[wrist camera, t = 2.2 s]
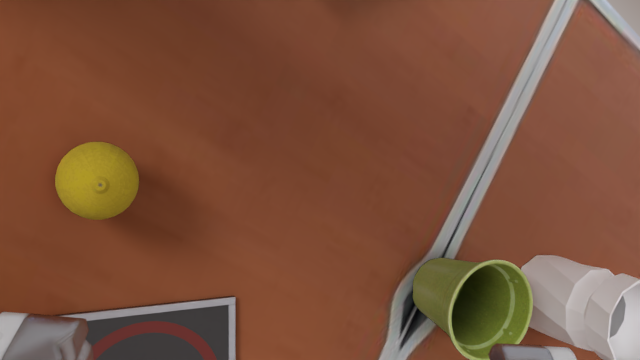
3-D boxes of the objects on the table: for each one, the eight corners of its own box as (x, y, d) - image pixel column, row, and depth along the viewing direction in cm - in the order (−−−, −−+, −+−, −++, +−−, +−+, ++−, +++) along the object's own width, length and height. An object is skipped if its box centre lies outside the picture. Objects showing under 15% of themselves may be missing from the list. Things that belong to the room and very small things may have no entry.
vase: (499, 289, 60) (593, 324, 49) (549, 237, 63) (648, 260, 52) (533, 344, 63) (629, 388, 52) (579, 292, 65) (680, 324, 54)
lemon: (148, 179, 44) (162, 188, 37) (92, 226, 43) (95, 245, 35) (99, 126, 42) (104, 124, 35) (40, 173, 41) (31, 181, 34)
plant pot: (436, 348, 57) (493, 382, 49) (379, 296, 54) (430, 325, 46) (486, 277, 59) (548, 300, 51) (434, 223, 56) (492, 238, 48)
